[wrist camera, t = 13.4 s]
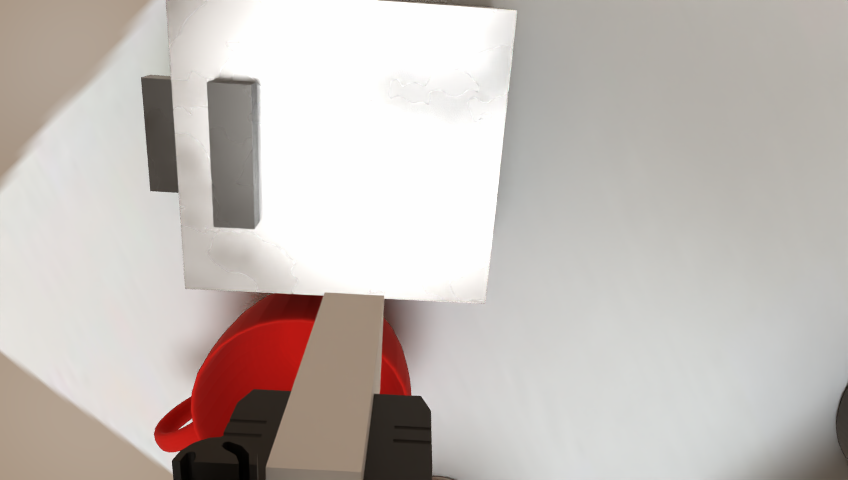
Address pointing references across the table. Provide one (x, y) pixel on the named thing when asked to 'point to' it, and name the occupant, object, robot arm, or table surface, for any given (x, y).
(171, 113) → the grey rectangular box
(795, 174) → the table surface
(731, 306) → the table surface
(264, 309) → the ceramic cup
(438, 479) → the thermos bottle
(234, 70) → the lid
